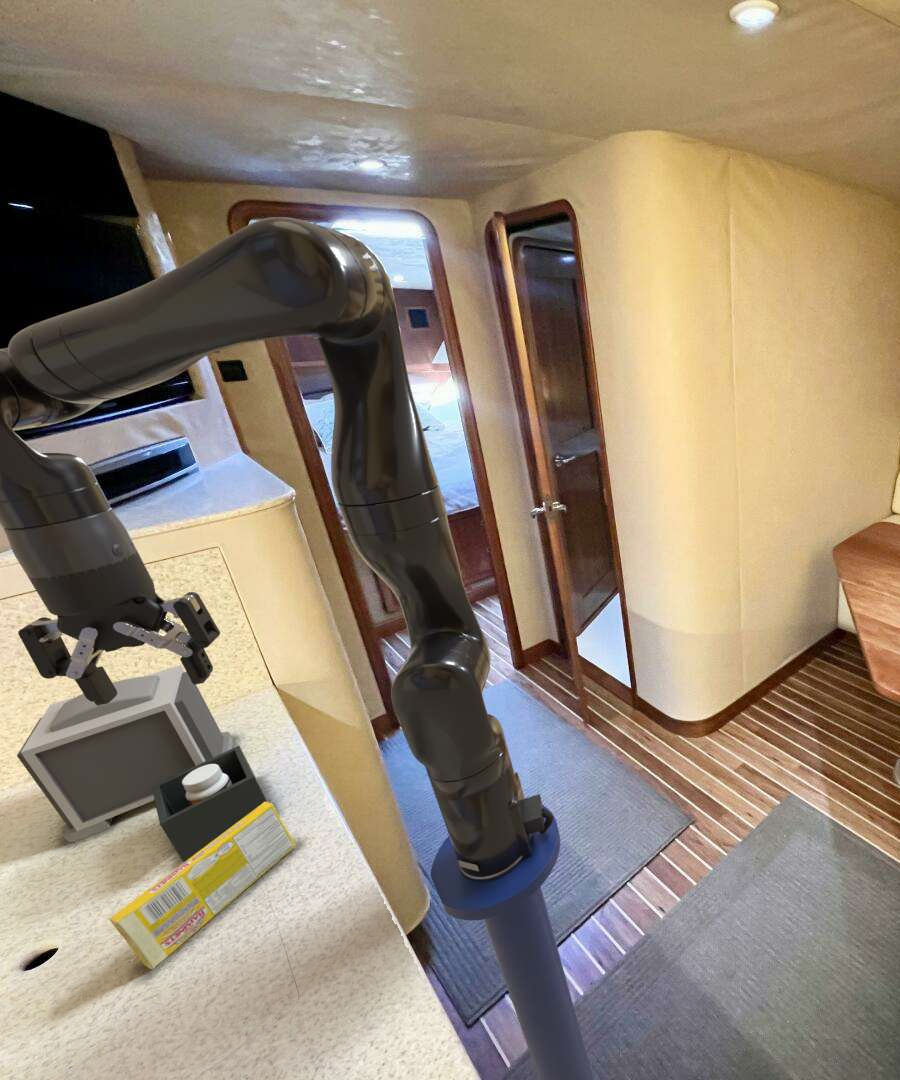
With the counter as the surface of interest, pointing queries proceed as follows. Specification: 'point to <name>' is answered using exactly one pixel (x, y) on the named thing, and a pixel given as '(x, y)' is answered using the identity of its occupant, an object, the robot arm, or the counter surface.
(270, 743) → the counter surface
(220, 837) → the candy box
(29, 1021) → the counter surface
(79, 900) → the counter surface
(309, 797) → the counter surface
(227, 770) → the open storage box
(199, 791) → the pill bottle
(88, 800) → the crt monitor
